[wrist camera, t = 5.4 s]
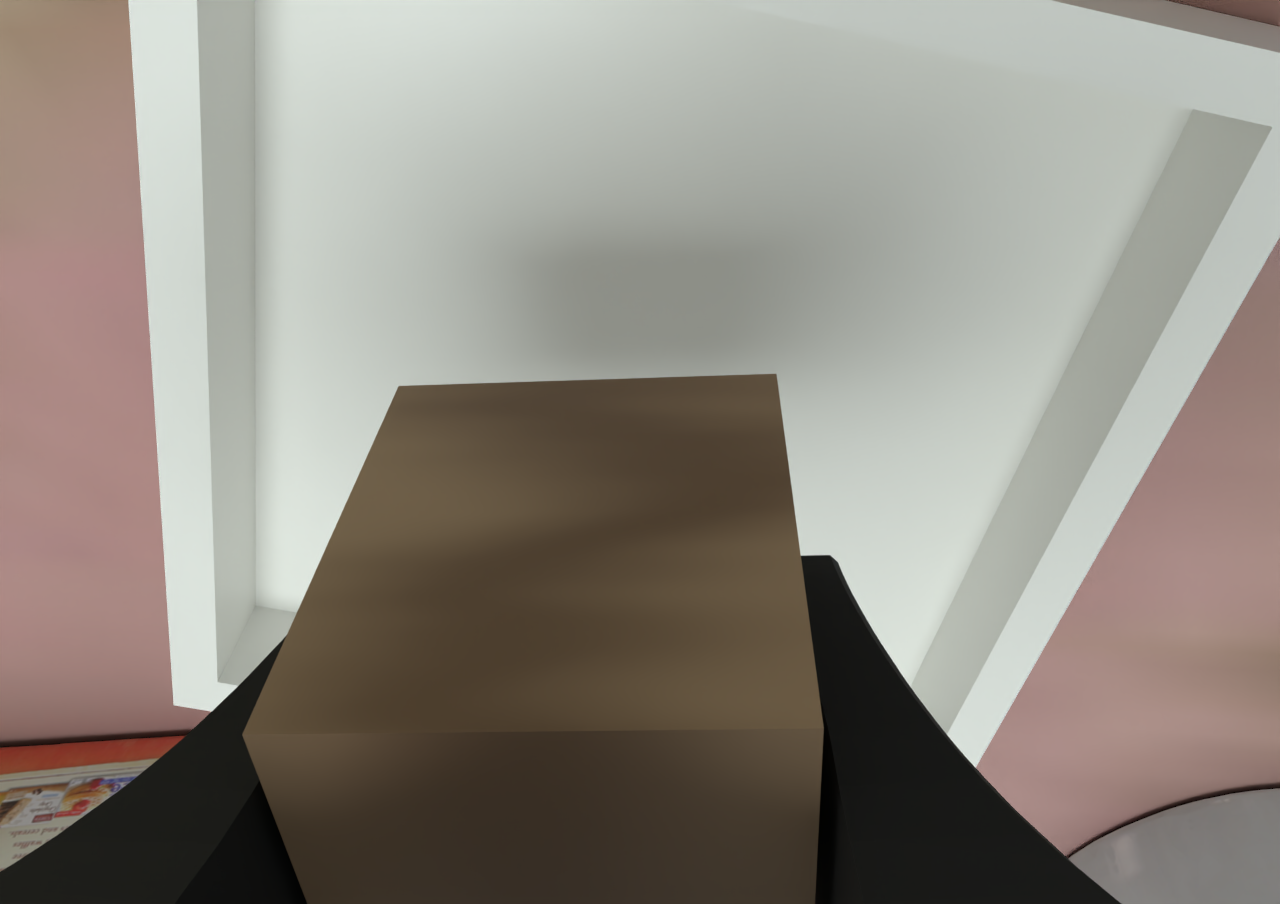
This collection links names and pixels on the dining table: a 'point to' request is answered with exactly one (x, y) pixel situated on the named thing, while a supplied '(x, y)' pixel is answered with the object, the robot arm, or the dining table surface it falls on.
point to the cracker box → (64, 786)
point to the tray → (702, 270)
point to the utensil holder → (1193, 853)
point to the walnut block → (555, 656)
